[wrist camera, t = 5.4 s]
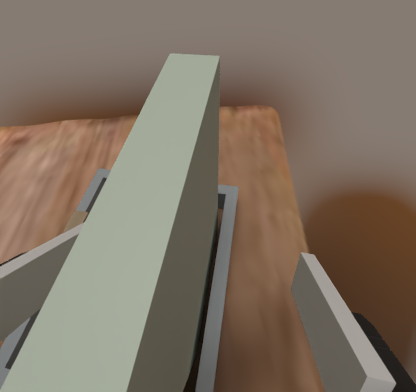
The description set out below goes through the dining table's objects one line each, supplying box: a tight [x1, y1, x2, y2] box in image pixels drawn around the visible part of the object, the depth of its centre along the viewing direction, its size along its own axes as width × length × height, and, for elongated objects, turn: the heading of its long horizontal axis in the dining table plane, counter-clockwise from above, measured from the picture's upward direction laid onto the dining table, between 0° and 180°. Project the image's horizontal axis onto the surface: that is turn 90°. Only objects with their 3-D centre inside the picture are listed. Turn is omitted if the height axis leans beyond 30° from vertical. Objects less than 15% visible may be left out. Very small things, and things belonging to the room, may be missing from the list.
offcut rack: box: [0, 169, 239, 392], centre depth 20 cm, size 18×21×6 cm
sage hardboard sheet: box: [0, 53, 220, 392], centre depth 13 cm, size 2×13×20 cm, turn 170°
